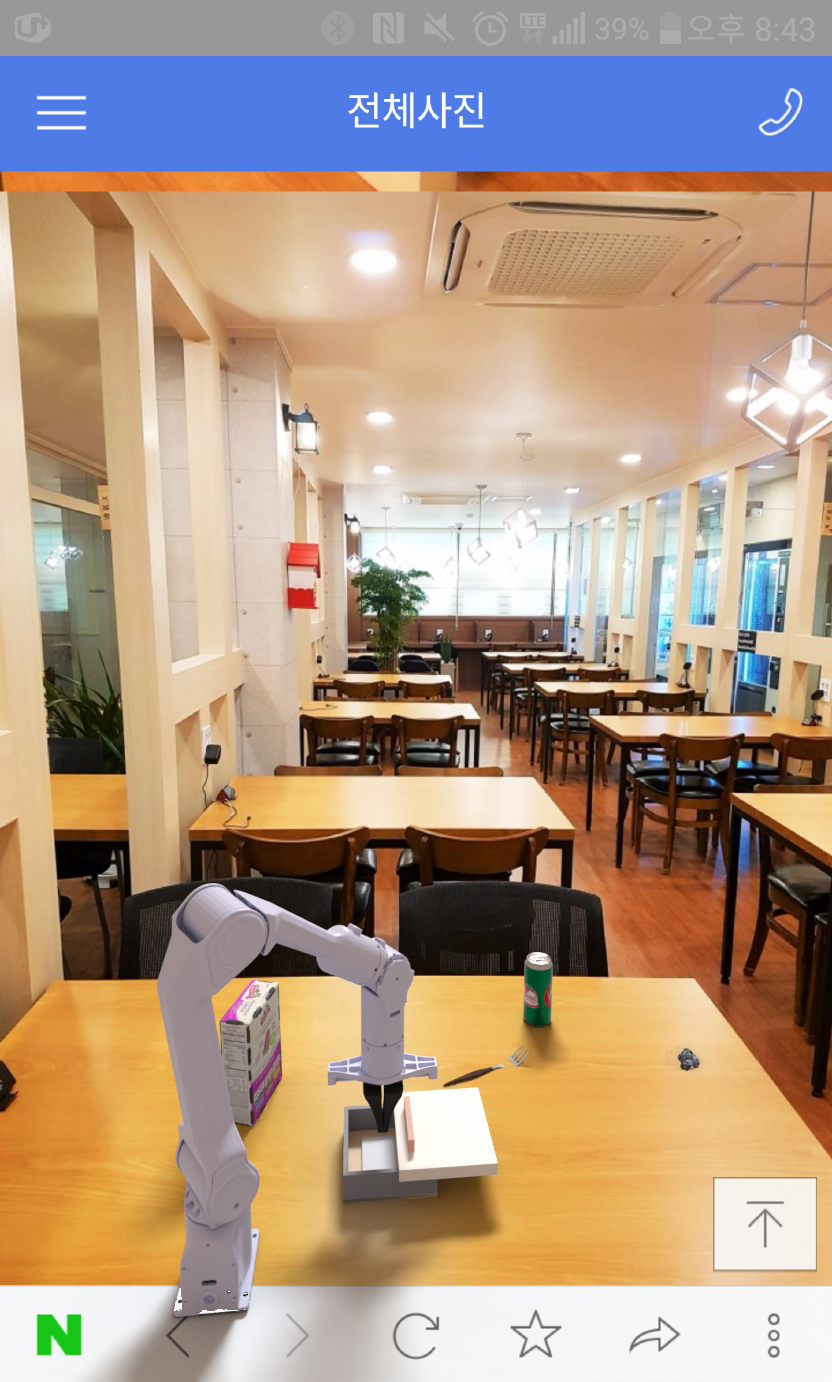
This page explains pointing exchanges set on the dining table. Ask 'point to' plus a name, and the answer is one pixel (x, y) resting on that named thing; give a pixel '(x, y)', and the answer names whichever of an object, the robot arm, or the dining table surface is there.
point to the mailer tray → (375, 1162)
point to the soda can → (538, 989)
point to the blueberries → (688, 1060)
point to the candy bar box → (252, 1049)
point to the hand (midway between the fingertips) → (382, 1127)
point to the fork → (486, 1070)
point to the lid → (443, 1135)
